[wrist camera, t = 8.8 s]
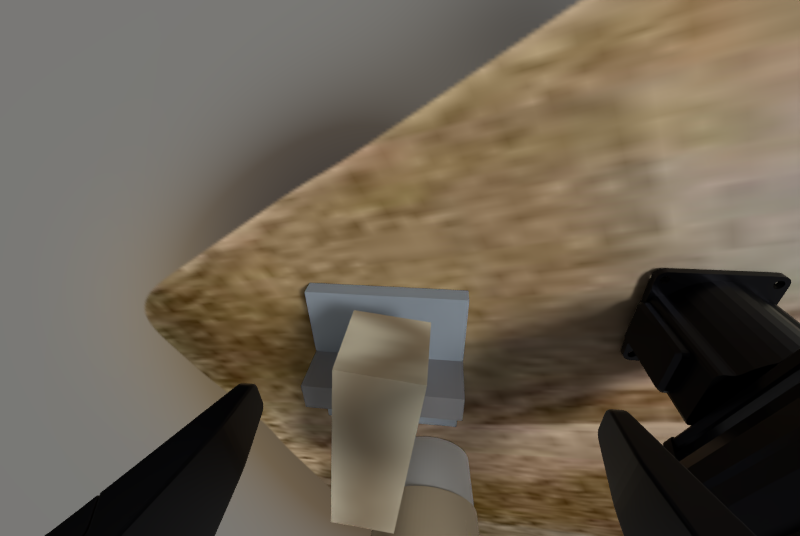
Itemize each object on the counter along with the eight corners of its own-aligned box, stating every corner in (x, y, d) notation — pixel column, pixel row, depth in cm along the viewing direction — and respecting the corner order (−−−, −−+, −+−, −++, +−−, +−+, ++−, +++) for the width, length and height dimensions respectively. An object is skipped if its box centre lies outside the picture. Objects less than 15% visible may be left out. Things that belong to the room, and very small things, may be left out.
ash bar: (431, 322, 18) (426, 385, 15) (400, 469, 25) (393, 533, 22) (353, 310, 18) (332, 369, 15) (346, 459, 26) (331, 521, 22)
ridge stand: (468, 290, 22) (472, 335, 18) (456, 415, 28) (457, 466, 24) (309, 282, 23) (285, 323, 19) (332, 404, 29) (317, 451, 26)
